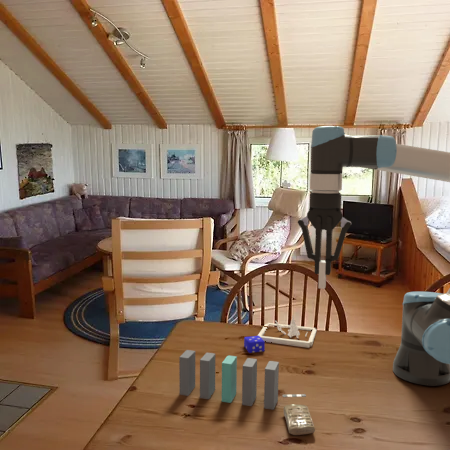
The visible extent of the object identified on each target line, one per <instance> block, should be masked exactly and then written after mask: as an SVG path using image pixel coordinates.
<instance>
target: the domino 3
mask: <svg viewBox="0 0 450 450" xmlns="http://www.w3.org/2000/svg"><path fill="white" fill-rule="evenodd" d="M237 364H238V356H235V355H230V354H229V355H227V356H226V357H225V358H224V360H223V361H222V362H221V402H223V403H228V404H229V403H230V404H232V402H233V400H234V399H235V397H236V395H237V386H238V385H237V380H238V378H237V377H238V376H237V374H238V371H237V369H238V365H237Z"/></svg>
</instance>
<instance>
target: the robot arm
mask: <svg viewBox="0 0 450 450" xmlns="http://www.w3.org/2000/svg"><path fill="white" fill-rule="evenodd" d="M344 168H363V169H370V170H375V171H381V172H389V173H394V174H399V175H406V176H409V177H418V178H423V179H429V180H436V181H442V182H446V183H450V152H449V151H444V150H443V151H442V150H437V149H430V148H424V147H418V146H412V145H407V144H402V143H401V144H400V143H397V141H396V138H395V137H394V136H393V135H382V134H377V135H376V134H371V135H368V134H367V135H366V134H365V135H362V134H361V135H351V134H350V135H348V134H345V129H344V127H343V126H340V125H337V126H335V125H334V126H333V125H324V126H323V125H322V126H316V127H314V129H313V130H312V133H311V144H310V175H309V176H310V177H309V190H311V192H310V193H309V203H308V205H309V207H308V211H307V213H306V216H305V217H302V218H300V219H299V220H297V224H298V226H299V227H300V228H301V229H300V230H301V232H302V237H303V241H304V246H305V251H306V256H307V258H308V259H310V260H313V261H314V274H315V275H318V288H317V289H323V290H324V289H326V286H327V283H326V282H327V276H330V274H331V273H332V262H334V261H338V260H339V257H340V254H341V252H342V247H343V244H344V241H345V239H346V235H347V234H346V233H347V232H348V230H349V229H350V227H351V226H352V221H351V220H348V219H347V218H345V217H344V214H343V213H342V211H341V210H342V194H341V190H343V189H342V187H343V169H344ZM309 223H310V224H311V225H312V227H313V228H314V229H315V233H314V234H315V243H314V250H313V246H312V240H311V235H310V230H309V227H308V226H309ZM339 223H340V227H341V230H340V233H339V237H338V240H337V243H336V245H335V246H336V247H335V250H334V253H332V252H333V230H334V229H335V228H336V227H337V225H339ZM323 231H325V232H326V233H325V235H326V237H325V239H326V240H325V260H324V259H323V260H322V235H323V234H322V233H323ZM401 319H402V320H401V337H400V345H399V347H398V350H397V352H396V355H395V356H394V359H393V362H392V372H393V373H394V374H395V375H396V376H397V377H398V378H399V379H402V380H403V381H406V382H409V383H413V384H416V385H421V386H432V387H434V386H443V385H444V386H445V385H446V384H448V383H450V287H449V288H448V290H447V292H445V293H441V292H433V291H410V292H406V293H405V294H404V296H403V302H402V317H401Z"/></svg>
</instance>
